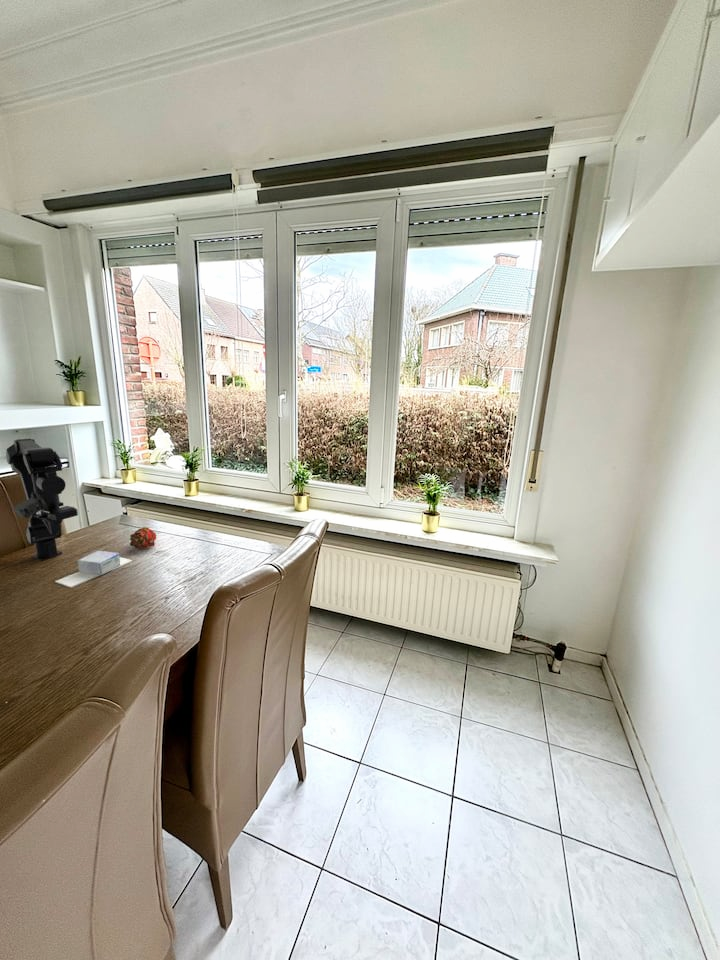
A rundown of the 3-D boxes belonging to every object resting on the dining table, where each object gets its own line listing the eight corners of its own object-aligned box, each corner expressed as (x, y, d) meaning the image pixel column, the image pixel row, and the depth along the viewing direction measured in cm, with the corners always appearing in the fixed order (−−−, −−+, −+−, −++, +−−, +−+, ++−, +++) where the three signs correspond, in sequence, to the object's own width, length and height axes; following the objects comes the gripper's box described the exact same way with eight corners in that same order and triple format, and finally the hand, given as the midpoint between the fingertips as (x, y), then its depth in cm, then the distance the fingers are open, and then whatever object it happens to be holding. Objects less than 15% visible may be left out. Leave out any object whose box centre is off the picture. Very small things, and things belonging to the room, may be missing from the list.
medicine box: (78, 572, 123) (101, 575, 121) (76, 559, 122) (99, 563, 120) (99, 561, 130) (121, 564, 129) (97, 549, 129) (119, 552, 128)
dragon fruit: (140, 558, 138) (144, 550, 149) (160, 542, 140) (162, 535, 151) (122, 542, 135) (127, 535, 146) (143, 526, 138) (146, 520, 148)
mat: (55, 582, 117) (55, 581, 117) (117, 557, 135) (117, 556, 135) (70, 587, 114) (70, 586, 114) (132, 561, 132) (132, 560, 132)
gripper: (-3, 490, 115) (7, 538, 119) (33, 499, 108) (43, 549, 112) (39, 482, 125) (47, 526, 129) (75, 490, 118) (82, 536, 122)
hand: (53, 534), depth 123 cm, fingers closed
